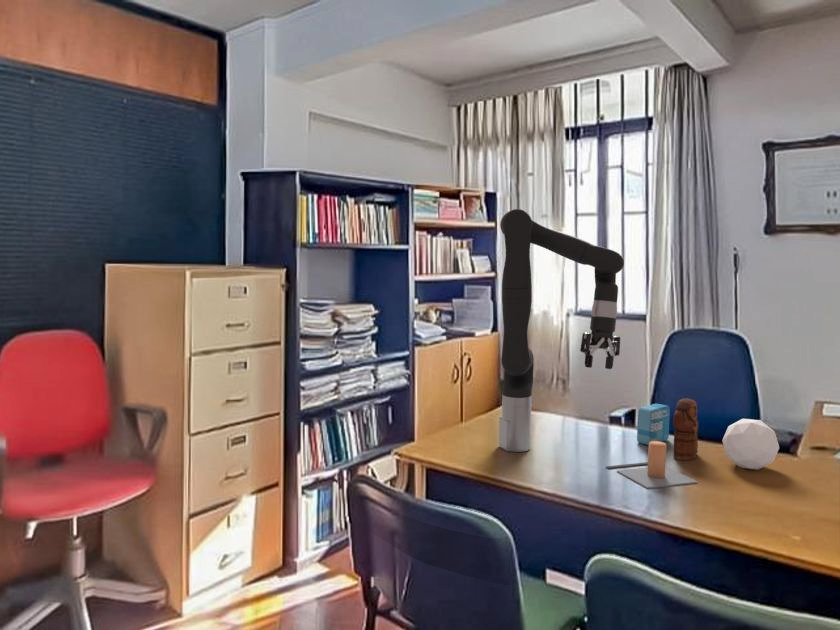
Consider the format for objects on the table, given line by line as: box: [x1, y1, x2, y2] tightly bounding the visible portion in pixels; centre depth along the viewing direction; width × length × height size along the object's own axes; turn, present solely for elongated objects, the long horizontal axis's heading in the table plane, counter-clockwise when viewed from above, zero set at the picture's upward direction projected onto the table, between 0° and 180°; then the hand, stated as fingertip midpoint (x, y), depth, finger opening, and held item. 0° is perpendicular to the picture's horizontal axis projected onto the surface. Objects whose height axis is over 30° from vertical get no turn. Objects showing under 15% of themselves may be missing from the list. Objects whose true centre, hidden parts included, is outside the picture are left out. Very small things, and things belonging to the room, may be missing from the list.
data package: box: [636, 403, 671, 446], centre depth 219 cm, size 12×4×12 cm, turn 129°
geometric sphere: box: [721, 418, 780, 471], centre depth 194 cm, size 14×15×15 cm
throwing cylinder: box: [647, 441, 667, 479], centre depth 185 cm, size 5×5×9 cm
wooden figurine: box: [672, 397, 700, 461], centre depth 204 cm, size 12×6×18 cm, turn 146°
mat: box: [605, 461, 699, 490], centre depth 187 cm, size 18×18×1 cm
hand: (598, 368), depth 206 cm, fingers open, 8 cm apart
